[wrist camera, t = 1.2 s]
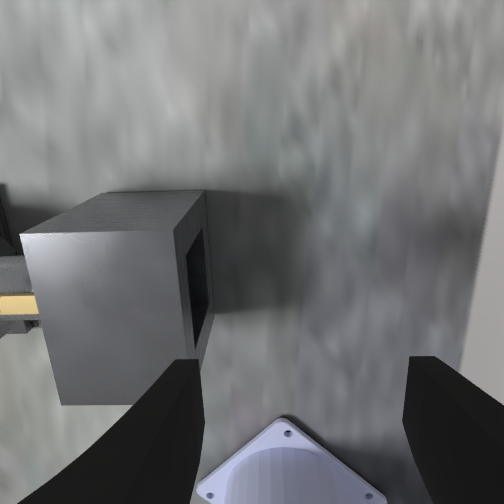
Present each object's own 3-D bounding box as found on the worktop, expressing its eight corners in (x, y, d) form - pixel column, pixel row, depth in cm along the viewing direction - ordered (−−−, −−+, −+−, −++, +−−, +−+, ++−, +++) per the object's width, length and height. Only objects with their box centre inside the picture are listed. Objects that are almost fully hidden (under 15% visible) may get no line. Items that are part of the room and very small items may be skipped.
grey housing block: (204, 189, 19) (172, 229, 12) (214, 315, 21) (191, 404, 15) (102, 193, 19) (19, 234, 13) (122, 317, 21) (61, 405, 15)
